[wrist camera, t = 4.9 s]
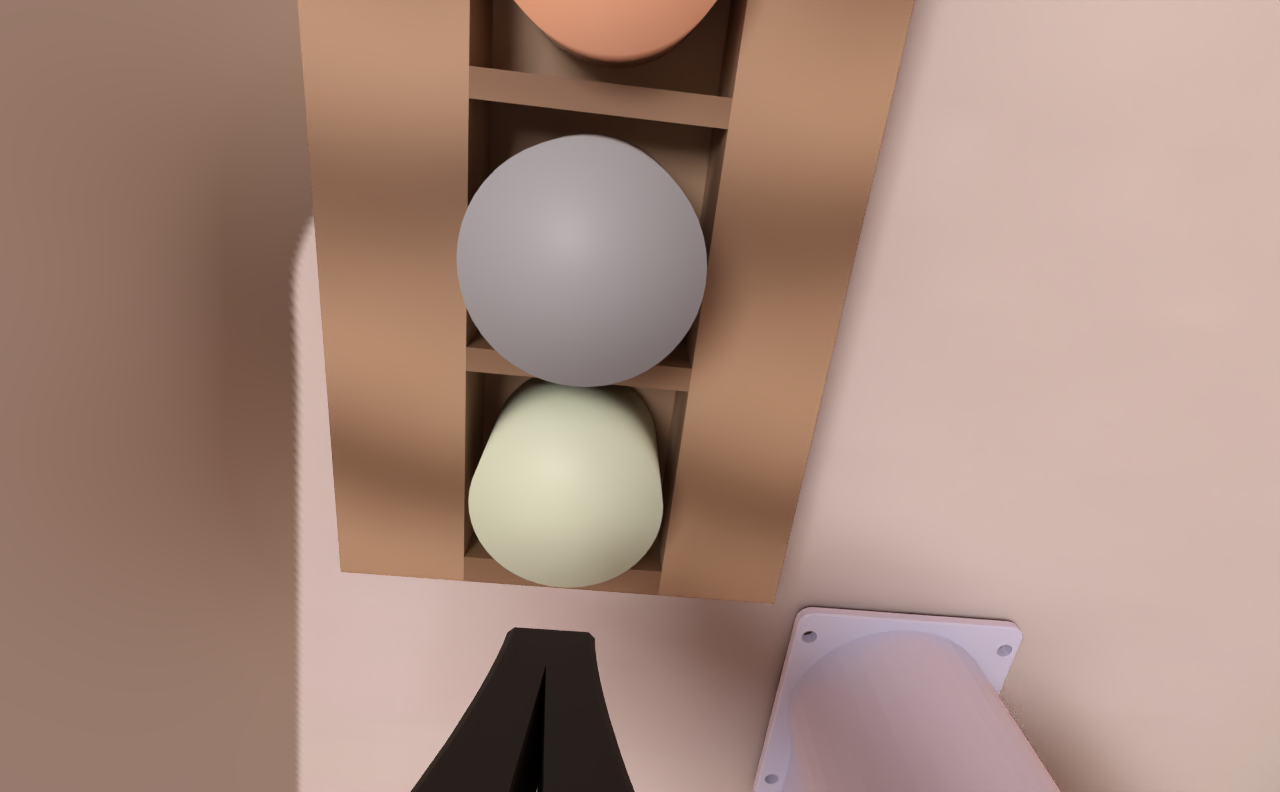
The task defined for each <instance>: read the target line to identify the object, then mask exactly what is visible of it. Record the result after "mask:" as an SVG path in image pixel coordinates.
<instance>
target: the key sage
mask: <svg viewBox="0 0 1280 792" xmlns="http://www.w3.org/2000/svg"><path fill="white" fill-rule="evenodd" d="M468 503H469V514H470V519H471V523H472V526H473V528H474V531H475V534H476V535H477V537H478V539H479V541H480V543H481V544H482V545H483V547H484V548H485V549H486V551H487V552H488V553H489V554H490V555H491V556H492V557H493V558H494V559H495V560H496V561H497V562H498V563H499V564H501V565H502V566H503V567H504V568H506V569H507V570H509V571H511V572H512V573H514V574H516V575H518V576H520V577H522V578H524V579H526V580H529V581H532V582H535V583H538V584H542V585H547V586H553V587H565V588H574V587H585V586H590V585H595V584H598V583H602V582H605V581H608V580H610V579H612V578H614V577H617V576H619V575H620V574H622V573H624V572H625V571H627V570H628V569H630V568H631V567H632V566H634V565H635V564H636V563H637V562H638V561H639V560H640V559H641V558H642V557H643V556H644V555H645V554H646V552H647V551H648V550H649V549H650V547H651V546H652V544H653V542H654V540H655V538H656V536H657V534H658V531H659V529H660V525H661V520H662V514H663V500H662V490H661V480H660V471H659V461H658V452H657V442H656V433H655V427H654V423H653V420H652V417H651V415H650V412H649V411H648V409H647V407H646V405H645V404H644V402H643V401H642V400H641V398H640V397H639V396H638V395H637V394H636V393H635V392H634V391H633V390H632V389H631V388H630V387H629V386H622V385H611V384H609V385H605V386H595V387H574V386H567V385H561V384H556V383H552V382H549V381H545V380H542V379H540V378H537V377H532V378H530V379H529V380H527V381H526V382H524V383H523V384H521V385H520V386H519V387H518V388H517V389H516V390H515V391H514V392H513V393H512V394H511V395H510V396H509V398H508V399H507V400H506V402H505V404H504V405H503V407H502V409H501V411H500V414H499V416H498V418H497V421H496V423H495V426H494V428H493V430H492V433H491V435H490V438H489V440H488V442H487V445H486V447H485V450H484V452H483V454H482V457H481V459H480V462H479V464H478V467H477V469H476V471H475V474H474V476H473V479H472V482H471V486H470V490H469V500H468Z"/></svg>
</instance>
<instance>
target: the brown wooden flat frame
mask: <svg viewBox="0 0 1280 792" xmlns="http://www.w3.org/2000/svg"><path fill="white" fill-rule="evenodd" d="M914 2H915V0H717V1H716V2H715V3H714V5H713V6H712V7H711V9H710V10H709V11H708V12H707V14H706V15H705V16H704V17H703V19H702V20H701V21H700V22H699V23H698V25H697V26H696V27H695V28H694V30H693V31H692V32H691V33H690V34H689V35H688V36H687V37H686V38H685V39H684V40H683V41H682V42H681V43H680V44H679V45H678V46H677V47H675V48H674V49H673V50H671V51H670V52H669V53H667V54H665V55H663V56H662V57H660V58H658V59H656V60H653V61H651V62H648V63H646V64H642V65H638V66H634V67H625V68H609V67H602V66H597V65H593V64H590V63H587V62H584V61H581V60H579V59H577V58H575V57H573V56H572V55H570V54H568V53H567V52H565V51H564V50H562V49H561V48H559V47H558V46H557V45H556V44H555V43H553V42H552V41H551V40H550V39H549V38H548V37H547V36H546V35H545V34H544V33H543V32H542V31H541V30H540V29H539V28H538V27H537V26H536V24H535V23H534V22H533V21H532V20H531V19H530V18H529V17H528V16H527V15H526V14H525V13H524V11H523V10H522V9H521V8H520V7H519V6H518V4H517V3H516V2H515V1H514V0H298V13H299V26H300V39H301V51H302V66H303V79H304V92H305V104H306V119H307V131H308V145H309V158H310V171H311V184H312V198H313V211H314V224H315V237H316V250H317V264H318V277H319V290H320V303H321V316H322V330H323V343H324V356H325V369H326V382H327V395H328V409H329V422H330V435H331V448H332V461H333V475H334V488H335V501H336V514H337V527H338V541H339V554H340V567H341V572H349V573H362V574H376V575H390V576H403V577H417V578H431V579H444V580H458V581H472V582H485V583H499V584H513V585H526V586H540V587H553V586H547V585H542V584H538V583H535V582H532V581H529V580H526V579H524V578H522V577H520V576H518V575H516V574H514V573H512V572H511V571H509V570H507V569H506V568H504V567H503V566H502V565H501V564H499V563H498V562H497V561H496V560H495V559H494V558H493V557H492V556H491V555H490V554H489V553H488V552H487V551H486V549H485V548H484V547H483V545H482V544H481V543H480V541H479V539H478V537H477V535H476V534H475V531H474V528H473V526H472V523H471V519H470V514H469V503H468V500H469V490H470V486H471V482H472V479H473V476H474V474H475V471H476V469H477V467H478V464H479V462H480V459H481V457H482V454H483V452H484V450H485V447H486V445H487V442H488V440H489V438H490V435H491V433H492V430H493V428H494V426H495V423H496V421H497V418H498V416H499V414H500V411H501V409H502V407H503V405H504V404H505V402H506V400H507V399H508V398H509V396H510V395H511V394H512V393H513V392H514V391H515V390H516V389H517V388H518V387H519V386H520V385H521V384H523V383H524V382H526V381H527V380H529V379H530V378H532V377H535V376H533V375H530V374H528V373H526V372H525V371H523V370H521V369H519V368H518V367H516V366H514V365H513V364H512V363H510V362H509V361H508V360H506V359H505V358H504V357H502V356H501V355H500V354H499V353H498V352H497V351H496V350H495V349H494V348H493V347H492V346H491V345H490V344H489V343H488V341H487V340H486V339H485V338H484V337H483V335H482V334H481V333H480V331H479V330H478V328H477V327H476V325H475V323H474V322H473V320H472V318H471V316H470V314H469V312H468V310H467V308H466V306H465V303H464V300H463V297H462V294H461V290H460V285H459V280H458V275H457V260H456V257H457V243H458V237H459V233H460V228H461V224H462V221H463V218H464V216H465V213H466V210H467V208H468V206H469V204H470V202H471V200H472V199H473V197H474V195H475V193H476V192H477V191H478V189H479V188H480V186H481V185H482V184H483V182H484V181H485V180H486V179H487V178H488V177H489V176H490V175H491V174H492V173H493V172H494V171H495V169H497V168H498V167H499V166H500V165H502V164H503V163H504V162H506V161H507V160H508V159H509V158H511V157H513V156H515V155H516V154H518V153H520V152H522V151H523V150H525V149H528V148H530V147H533V146H535V145H538V144H540V143H543V142H546V141H550V140H553V139H556V138H559V137H563V136H567V135H571V134H581V133H595V134H604V135H609V136H614V137H617V138H620V139H623V140H626V141H628V142H630V143H632V144H634V145H636V146H638V147H639V148H641V149H642V150H644V151H645V152H647V153H648V154H650V155H651V156H652V157H653V158H654V159H655V160H656V161H658V162H659V163H660V164H661V165H662V167H663V168H664V169H665V170H666V171H667V172H668V174H669V175H670V176H671V177H672V179H673V180H674V181H675V182H676V183H677V185H678V186H679V187H680V188H681V190H682V191H683V193H684V194H685V196H686V197H687V199H688V200H689V202H690V203H691V205H692V207H693V209H694V212H695V214H696V216H697V218H698V220H699V223H700V227H701V230H702V233H703V236H704V242H705V247H706V255H707V275H706V285H705V290H704V295H703V299H702V302H701V305H700V308H699V311H698V313H697V316H696V318H695V320H694V321H693V323H692V325H691V327H690V329H689V330H688V332H687V333H686V335H685V336H684V338H683V339H682V341H681V342H680V343H679V344H678V345H677V346H676V347H675V349H674V350H673V351H672V352H671V353H670V354H669V355H667V356H666V357H665V358H664V359H663V360H662V361H660V362H659V363H658V364H656V365H655V366H653V367H652V368H650V369H649V370H647V371H645V372H643V373H641V374H639V375H637V376H635V377H633V378H630V379H627V380H625V381H622V382H619V383H614V384H611V385H622V386H629V387H630V388H631V389H632V390H633V391H634V392H635V393H636V394H637V395H638V396H639V397H640V398H641V400H642V401H643V402H644V404H645V405H646V407H647V409H648V411H649V412H650V415H651V417H652V420H653V423H654V427H655V433H656V442H657V452H658V461H659V471H660V480H661V490H662V500H663V514H662V520H661V525H660V529H659V531H658V534H657V536H656V538H655V540H654V542H653V544H652V546H651V547H650V549H649V550H648V551H647V552H646V554H645V555H644V556H643V557H642V558H641V559H640V560H639V561H638V562H637V563H636V564H635V565H634V566H632V567H631V568H630V569H628V570H627V571H625V572H624V573H622V574H620V575H619V576H617V577H614V578H612V579H610V580H608V581H605V582H602V583H598V584H595V585H590V586H585V587H574V588H567V589H581V590H595V591H608V592H622V593H636V594H649V595H663V596H677V597H690V598H704V599H718V600H731V601H745V602H759V603H772V604H774V600H775V596H776V591H777V587H778V583H779V578H780V574H781V570H782V566H783V561H784V557H785V553H786V549H787V544H788V540H789V536H790V531H791V527H792V523H793V519H794V514H795V510H796V506H797V502H798V497H799V493H800V489H801V484H802V480H803V476H804V472H805V467H806V463H807V459H808V455H809V450H810V446H811V442H812V437H813V433H814V429H815V425H816V420H817V416H818V412H819V408H820V403H821V399H822V395H823V390H824V386H825V382H826V378H827V373H828V369H829V365H830V361H831V356H832V352H833V348H834V343H835V339H836V335H837V331H838V326H839V322H840V318H841V314H842V309H843V305H844V301H845V296H846V292H847V288H848V284H849V279H850V275H851V271H852V267H853V262H854V258H855V254H856V249H857V245H858V241H859V237H860V232H861V228H862V224H863V220H864V215H865V211H866V207H867V202H868V198H869V194H870V190H871V185H872V181H873V177H874V173H875V168H876V164H877V160H878V155H879V151H880V147H881V143H882V138H883V134H884V130H885V125H886V121H887V117H888V113H889V108H890V104H891V100H892V96H893V91H894V87H895V83H896V78H897V74H898V70H899V66H900V61H901V57H902V53H903V49H904V44H905V40H906V36H907V31H908V27H909V23H910V19H911V14H912V10H913V6H914ZM537 378H538V377H537ZM554 588H565V587H554Z"/></svg>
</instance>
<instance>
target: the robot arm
mask: <svg viewBox="0 0 1280 792" xmlns="http://www.w3.org/2000/svg"><path fill="white" fill-rule="evenodd" d="M807 631H813V632H812V633H810V634H808V635H804V633H805V632H807ZM1022 638H1023V634H1022V631H1021V630H1020V629H1019V628H1018V626H1017V625H1016V624H1015V623H1013V622H1009V621H997V620H984V619H970V618H956V617H943V616H929V615H915V614H902V613H888V612H874V611H861V610H847V609H833V608H820V607H807V608H805V609H802V610H801V611H800V612H799V613H798V614H797V616H796V618H795V622H794V626H793V630H792V634H791V638H790V642H789V646H788V650H787V654H786V658H785V662H784V666H783V670H782V674H781V678H780V682H779V686H778V690H777V693H776V697H775V701H774V705H773V709H772V713H771V717H770V721H769V725H768V729H767V733H766V737H765V741H764V745H763V749H762V753H761V757H760V761H759V765H758V769H757V773H756V777H755V781H754V785H753V792H1061V791H1060V790H1059V788H1058V787H1057V785H1056V784H1055V782H1054V781H1053V779H1052V778H1051V776H1050V774H1049V773H1048V771H1047V770H1046V768H1045V767H1044V765H1043V764H1042V762H1041V761H1040V759H1039V758H1038V756H1037V754H1036V753H1035V751H1034V750H1033V748H1032V747H1031V745H1030V744H1029V742H1028V741H1027V739H1026V738H1025V736H1024V734H1023V733H1022V731H1021V730H1020V728H1019V727H1018V725H1017V724H1016V722H1015V721H1014V719H1013V718H1012V716H1011V714H1010V713H1009V711H1008V710H1007V708H1006V707H1005V705H1004V704H1003V702H1002V701H1001V699H1000V698H999V696H998V695H999V693H1000V691H1001V688H1002V686H1003V684H1004V681H1005V679H1006V677H1007V674H1008V672H1009V669H1010V667H1011V665H1012V662H1013V660H1014V658H1015V655H1016V653H1017V651H1018V648H1019V646H1020V644H1021V641H1022ZM1003 645H1004V646H1003ZM1001 646H1003V647H1001ZM999 647H1001V648H999ZM536 791H537V792H634V789H633V786H632V784H631V781H630V779H629V776H628V773H627V770H626V768H625V765H624V762H623V759H622V756H621V753H620V750H619V747H618V744H617V740H616V737H615V734H614V731H613V728H612V724H611V721H610V718H609V714H608V711H607V707H606V703H605V699H604V695H603V691H602V687H601V682H600V677H599V672H598V667H597V660H596V652H595V638H594V637H593V636H592V635H591V634H590V633H589V632H575V631H560V630H545V629H531V628H516V627H515V628H513V629H512V630H510V631H509V632H508V633H507V635H506V638H505V640H504V643H503V645H502V647H501V649H500V651H499V654H498V656H497V658H496V660H495V662H494V664H493V666H492V667H491V669H490V671H489V673H488V675H487V677H486V678H485V680H484V682H483V684H482V685H481V687H480V689H479V691H478V692H477V694H476V696H475V697H474V699H473V701H472V702H471V704H470V705H469V707H468V709H467V710H466V712H465V713H464V715H463V717H462V718H461V720H460V721H459V723H458V725H457V726H456V728H455V729H454V731H453V732H452V734H451V735H450V737H449V738H448V740H447V741H446V743H445V744H444V746H443V747H442V749H441V750H440V751H439V753H438V754H437V756H436V757H435V758H434V760H433V761H432V763H431V764H430V765H429V767H428V768H427V770H426V771H425V773H424V774H423V775H422V777H421V778H420V780H419V781H418V782H417V784H416V785H415V786H414V788H413V789H412V790H411V792H536Z"/></svg>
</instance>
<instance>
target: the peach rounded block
mask: <svg viewBox="0 0 1280 792" xmlns="http://www.w3.org/2000/svg"><path fill="white" fill-rule="evenodd" d="M514 1H515V2H516V3H517V4H518V6H519V7H520V8H521V9H522V10H523V11H524V13H525V14H526V15H527V16H528V17H529V18H530V19H531V20H532V21H533V22H534V23H535V24H536V26H537V27H538V28H539V29H540V30H541V31H542V32H543V33H544V34H545V35H546V36H547V37H548V38H549V39H550V40H551V41H552V42H553V43H555V44H556V45H557V46H558V47H559V48H561V49H562V50H564V51H565V52H567V53H568V54H570V55H572V56H573V57H575V58H577V59H579V60H581V61H584V62H587V63H590V64H593V65H597V66H602V67H609V68H625V67H634V66H638V65H642V64H646V63H648V62H651V61H653V60H656V59H658V58H660V57H662V56H663V55H665V54H667V53H669V52H670V51H671V50H673V49H674V48H675V47H677V46H678V45H679V44H680V43H681V42H682V41H683V40H684V39H685V38H686V37H687V36H688V35H689V34H690V33H691V32H692V31H693V30H694V28H695V27H696V26H697V25H698V23H699V22H700V21H701V20H702V19H703V17H704V16H705V15H706V14H707V12H708V11H709V10H710V9H711V7H712V6H713V5H714V3H715V2H716V1H717V0H514Z"/></svg>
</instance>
